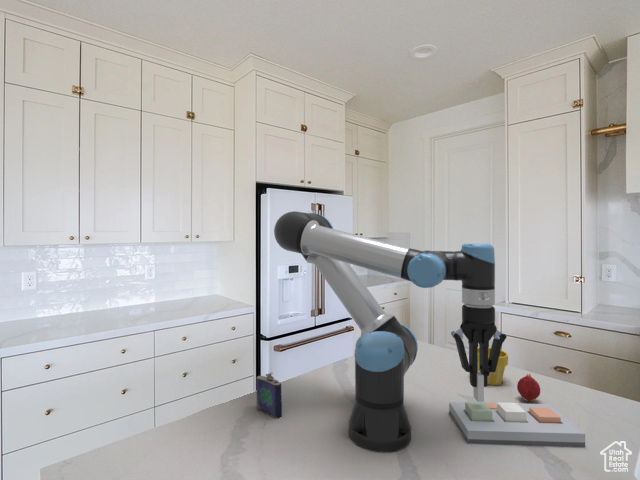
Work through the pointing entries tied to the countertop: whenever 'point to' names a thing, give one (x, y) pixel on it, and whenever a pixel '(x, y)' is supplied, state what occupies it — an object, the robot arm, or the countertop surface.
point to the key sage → (478, 411)
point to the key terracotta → (544, 415)
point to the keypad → (516, 429)
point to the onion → (528, 388)
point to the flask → (269, 396)
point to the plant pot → (496, 376)
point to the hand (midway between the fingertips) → (478, 399)
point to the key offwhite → (511, 412)
